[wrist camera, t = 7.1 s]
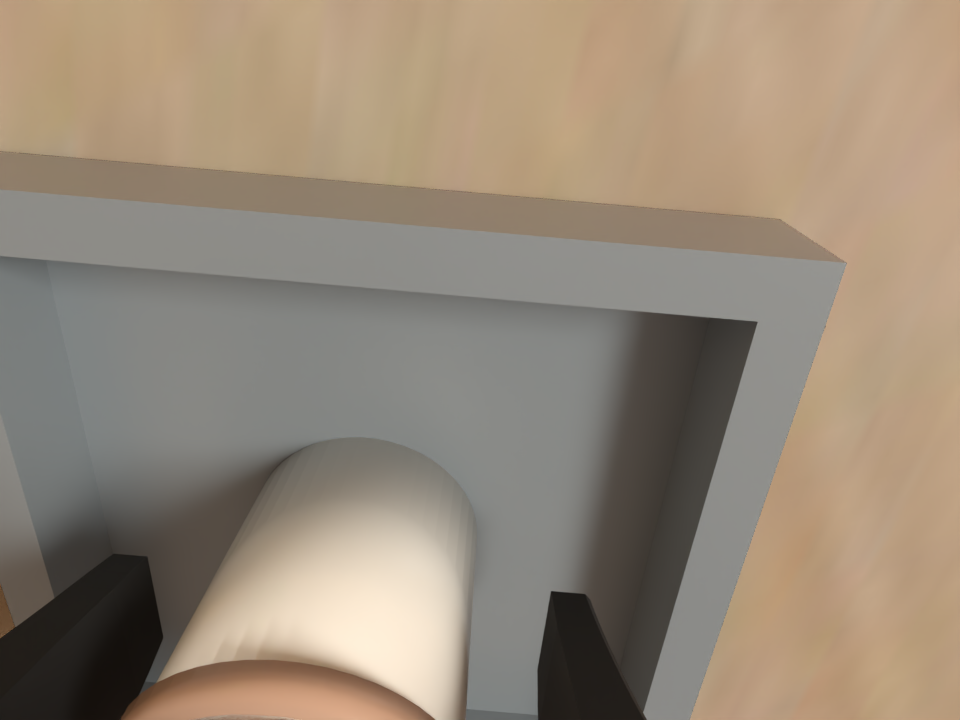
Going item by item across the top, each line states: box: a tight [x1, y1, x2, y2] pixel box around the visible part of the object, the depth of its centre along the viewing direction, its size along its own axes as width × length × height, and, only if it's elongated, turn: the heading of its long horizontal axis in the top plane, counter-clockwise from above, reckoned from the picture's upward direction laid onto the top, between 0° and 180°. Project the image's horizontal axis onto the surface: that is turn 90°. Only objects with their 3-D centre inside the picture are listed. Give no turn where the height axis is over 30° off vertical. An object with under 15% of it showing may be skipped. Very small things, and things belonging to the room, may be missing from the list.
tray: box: [0, 151, 847, 720], centre depth 13 cm, size 14×14×2 cm
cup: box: [119, 437, 477, 720], centre depth 11 cm, size 5×5×6 cm
